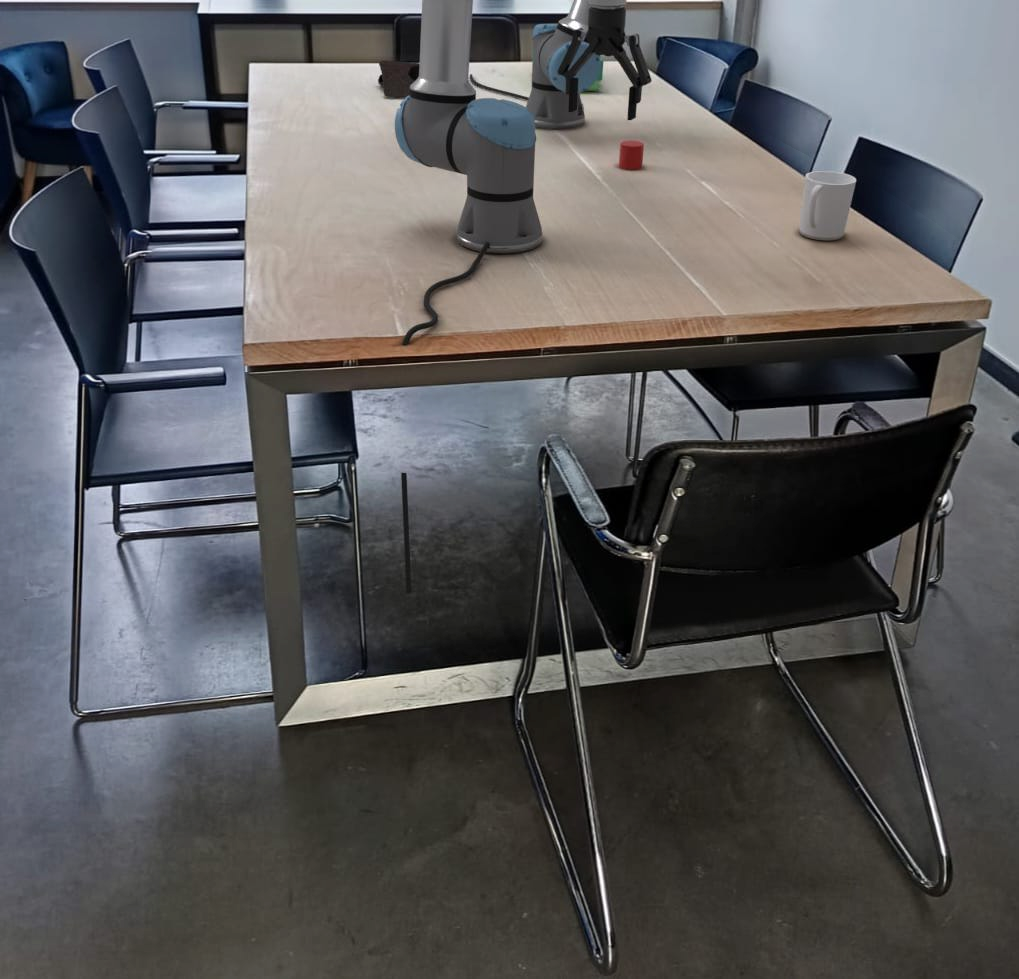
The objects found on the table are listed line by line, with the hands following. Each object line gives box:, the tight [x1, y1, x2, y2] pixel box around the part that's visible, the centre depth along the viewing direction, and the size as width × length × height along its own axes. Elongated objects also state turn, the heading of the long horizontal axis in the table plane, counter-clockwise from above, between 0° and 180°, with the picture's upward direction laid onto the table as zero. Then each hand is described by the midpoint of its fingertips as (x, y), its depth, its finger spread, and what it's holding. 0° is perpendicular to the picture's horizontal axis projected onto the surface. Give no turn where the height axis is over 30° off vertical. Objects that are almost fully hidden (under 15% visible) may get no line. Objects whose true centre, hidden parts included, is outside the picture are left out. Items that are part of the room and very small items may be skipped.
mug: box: [798, 170, 857, 241], centre depth 199 cm, size 11×9×10 cm
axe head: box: [377, 59, 420, 99], centre depth 299 cm, size 18×8×15 cm
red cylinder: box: [618, 140, 645, 171], centre depth 238 cm, size 5×5×5 cm
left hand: (601, 115), depth 231 cm, fingers open, 13 cm apart
